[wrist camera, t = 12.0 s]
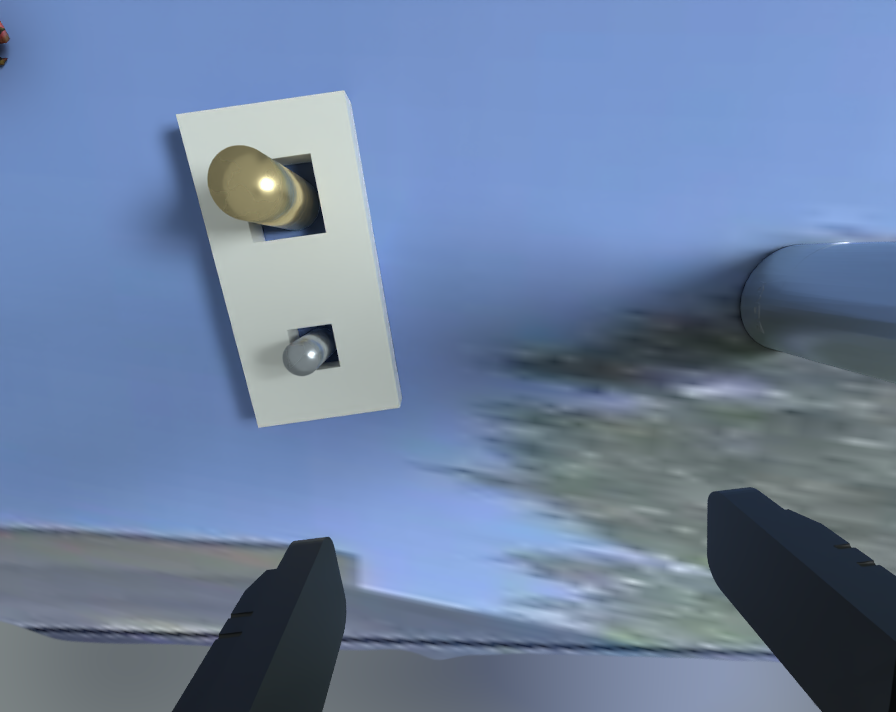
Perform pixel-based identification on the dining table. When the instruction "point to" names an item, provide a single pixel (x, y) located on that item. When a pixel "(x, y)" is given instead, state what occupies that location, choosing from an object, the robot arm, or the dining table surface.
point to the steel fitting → (309, 352)
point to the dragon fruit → (3, 41)
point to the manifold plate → (300, 262)
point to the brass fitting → (261, 189)
